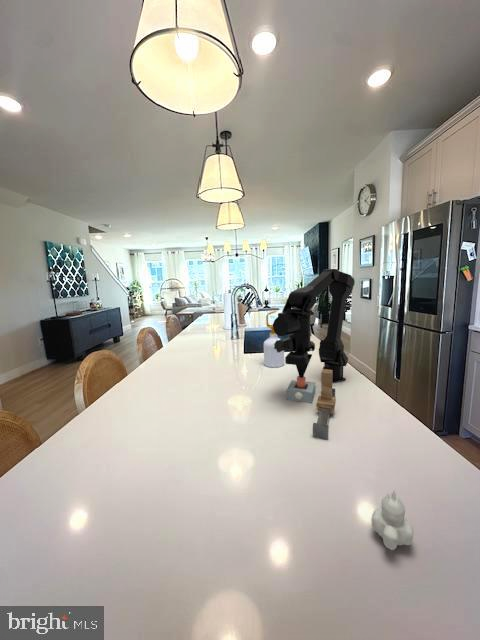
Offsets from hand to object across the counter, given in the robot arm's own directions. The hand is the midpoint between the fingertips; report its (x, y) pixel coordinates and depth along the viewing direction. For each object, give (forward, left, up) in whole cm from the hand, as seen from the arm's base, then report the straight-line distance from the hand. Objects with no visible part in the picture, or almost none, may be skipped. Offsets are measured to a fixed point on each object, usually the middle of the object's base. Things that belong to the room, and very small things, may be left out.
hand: (301, 377), depth 87 cm
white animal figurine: (+12, +48, -7) cm, 49 cm away
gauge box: (0, 0, -7) cm, 7 cm away
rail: (0, +13, -7) cm, 15 cm away
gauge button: (0, 0, -4) cm, 4 cm away
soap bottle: (-4, -32, -7) cm, 33 cm away
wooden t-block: (-1, +12, -5) cm, 13 cm away
